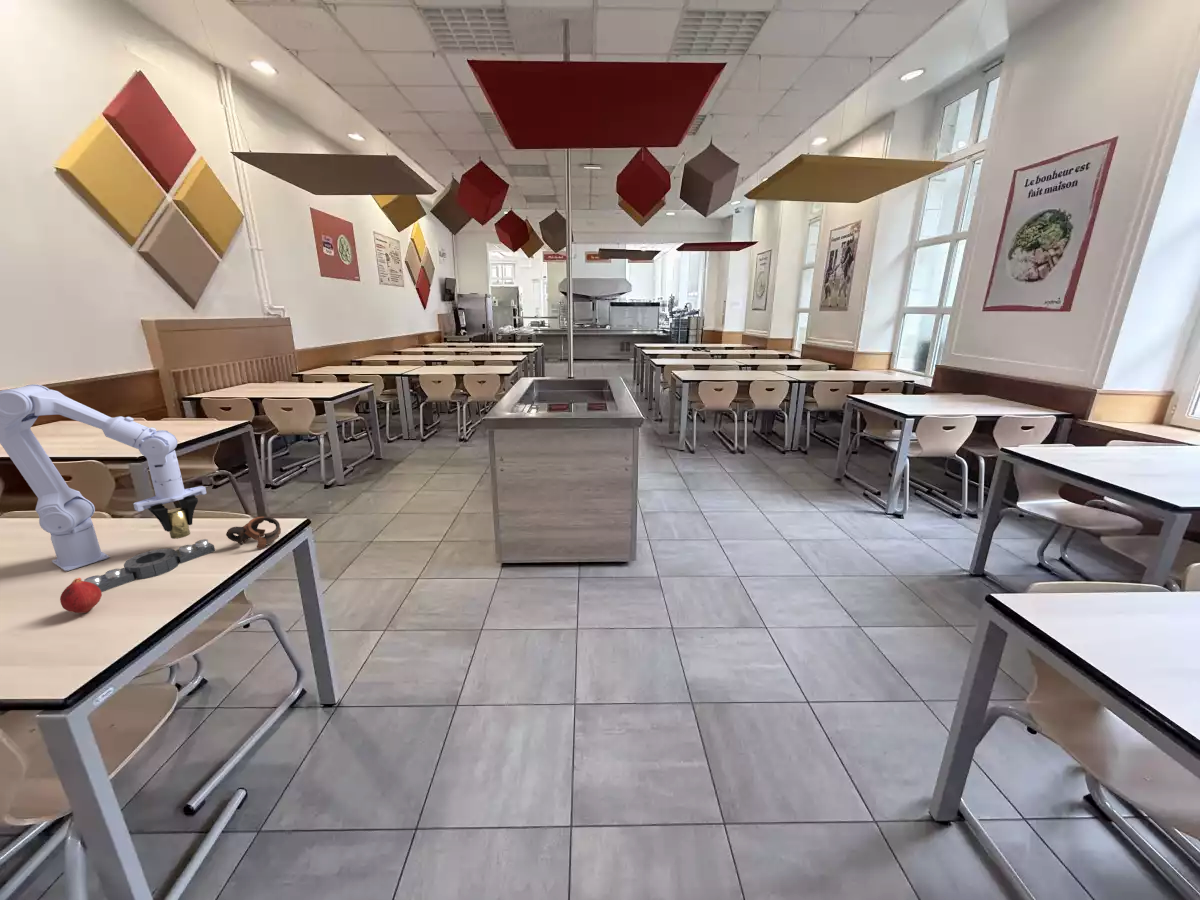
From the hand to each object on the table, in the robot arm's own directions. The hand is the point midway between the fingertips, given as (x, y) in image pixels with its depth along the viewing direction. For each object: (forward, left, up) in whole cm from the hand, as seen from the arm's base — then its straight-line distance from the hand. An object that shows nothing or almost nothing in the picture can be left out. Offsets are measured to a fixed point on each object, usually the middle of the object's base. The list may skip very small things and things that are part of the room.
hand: (178, 527), depth 128 cm
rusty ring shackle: (+14, +11, -6) cm, 19 cm away
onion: (+17, -24, -6) cm, 30 cm away
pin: (0, 0, -2) cm, 2 cm away
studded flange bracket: (+7, -9, -6) cm, 13 cm away
